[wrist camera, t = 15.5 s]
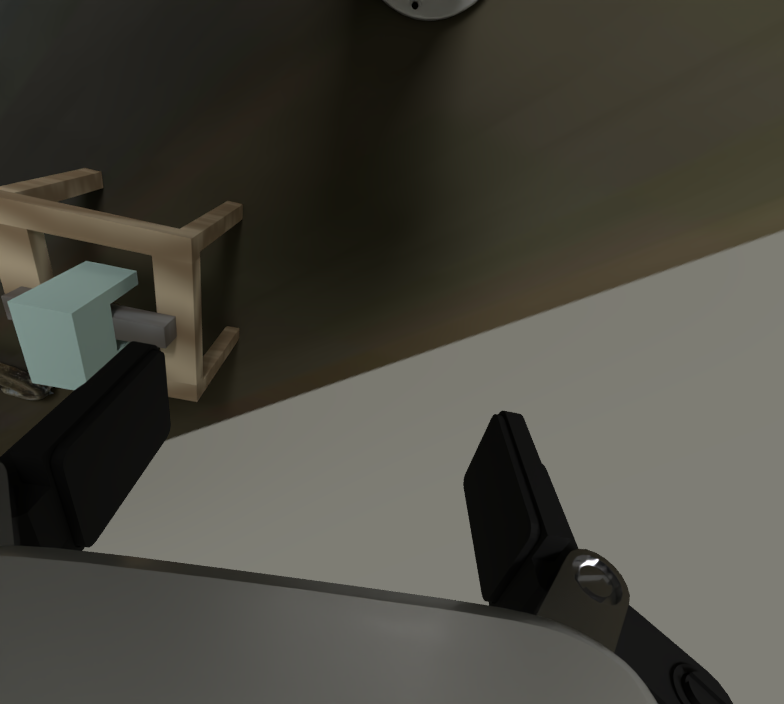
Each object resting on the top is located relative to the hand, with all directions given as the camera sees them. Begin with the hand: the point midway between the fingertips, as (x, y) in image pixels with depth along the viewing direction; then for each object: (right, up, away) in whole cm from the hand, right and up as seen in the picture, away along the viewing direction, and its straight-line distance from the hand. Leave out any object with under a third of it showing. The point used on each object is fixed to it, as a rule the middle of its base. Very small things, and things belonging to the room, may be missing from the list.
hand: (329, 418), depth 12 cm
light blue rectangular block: (-22, +6, +24) cm, 33 cm away
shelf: (-22, +12, +32) cm, 41 cm away
